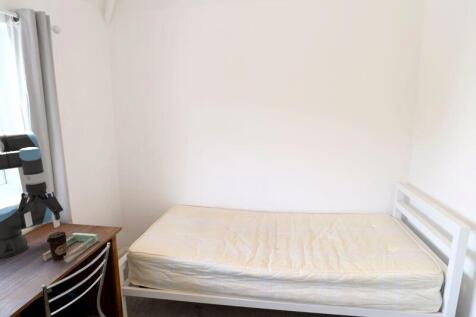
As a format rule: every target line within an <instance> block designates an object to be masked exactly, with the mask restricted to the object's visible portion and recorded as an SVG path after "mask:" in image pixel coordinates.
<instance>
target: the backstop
mask: <svg viewBox="0 0 476 317" xmlns="http://www.w3.org/2000/svg"><path fill="white" fill-rule="evenodd" d="M71 236H75V238H76V241H75V242H83V243H84V242H86V241H87V240H89V239H90V238H91V237H95V243H97V242H98V241H99V240H98V239H99V238H98V234H97V233H86V232H85V233H84V232H74V233H72V234H71Z"/></svg>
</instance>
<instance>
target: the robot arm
mask: <svg viewBox="0 0 476 317" xmlns="http://www.w3.org/2000/svg"><path fill="white" fill-rule="evenodd" d="M42 155H43V154H42V153H41V148H40V145H39V141H38V139H37V136H36V134H35V133H34V132H32V131H18V132H16V131H15V132H3V133H2V132H1V133H0V171H3V170H12V169H18V175H19V180H20V183H21V184H20V185H21V189H22V190H21V191H22V193H20V194H21V198H20V201H19V205H18V207H17V205H12V206H6V207H3V208H0V259H5V258H9V257H13V256H17V255H19V254H21V253H23V252H25V251H27V250H28V248H29V247H30V245H29V241H28V240H27V238H26V236H25V235H24V233H23V231H22V230H25V229H30V228H35V227H37V226H41V225H42V226H43V225H46V224H48V223H50V222H51V221H52V223H53V228H55V229H56V228H58V227H60V226H61V224H60V220H61V216H60V213H61V212H63V211H64V208H63V207H62V205H61V204H60V201H59V200H58V199H57V198H56V196H55V192H54V191H50V192H47V189H48V187H47V186H48V185H47V182H46V176H45V169H44V165H43V164H44V162H43V159H42V158H43V157H42Z"/></svg>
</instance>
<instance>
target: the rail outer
mask: <svg viewBox="0 0 476 317" xmlns="http://www.w3.org/2000/svg"><path fill="white" fill-rule="evenodd" d="M95 243H96V242H95V237H91V238H90V239H89V240H87V241H86V242H83V243H81V244H80V245H79V246H77V247H75V249H73V250H71V251H70V252H67V253H66V254H67V255H66V256H64V259H63V262H64V263H70V262H71V261H73V260H74V259H76V257H78V256H79V255H81V254H82V253H84V251H86V250H87V249H89V248H90V247H92V246H93V245H94V244H95Z"/></svg>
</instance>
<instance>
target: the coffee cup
mask: <svg viewBox="0 0 476 317" xmlns="http://www.w3.org/2000/svg"><path fill="white" fill-rule="evenodd" d="M67 237H68V236H67V235H66V232H65V231H56V232H53V233H51V234H50V235H48V238H47V239H46V243H47V244H48V247H49V250H50V252H51V255H52V257H51V258H52V261H53V262H61V261H64V256H66V255H67V254H68V247H67V241H66V240H67Z"/></svg>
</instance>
